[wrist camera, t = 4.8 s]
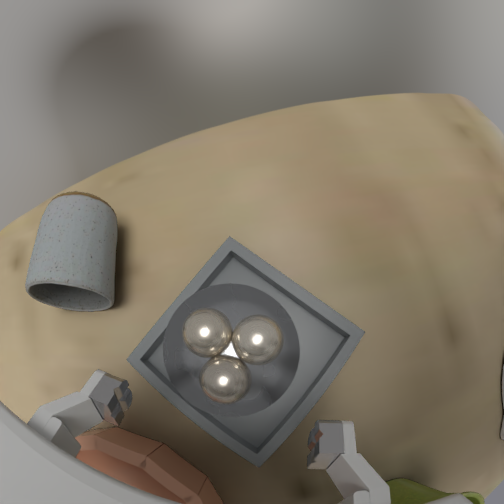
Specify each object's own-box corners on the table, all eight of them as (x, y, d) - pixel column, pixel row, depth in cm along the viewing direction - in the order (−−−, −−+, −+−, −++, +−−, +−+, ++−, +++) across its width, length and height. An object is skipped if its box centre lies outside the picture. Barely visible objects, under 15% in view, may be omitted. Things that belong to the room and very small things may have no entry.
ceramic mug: (132, 221, 23) (91, 171, 16) (131, 308, 20) (74, 282, 13) (52, 240, 23) (7, 206, 16) (45, 315, 20) (-11, 294, 13)
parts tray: (356, 334, 19) (365, 331, 17) (259, 458, 16) (259, 467, 14) (232, 246, 22) (229, 236, 20) (137, 360, 19) (126, 359, 17)
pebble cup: (297, 346, 18) (333, 333, 9) (251, 404, 17) (239, 449, 8) (237, 301, 20) (216, 248, 10) (191, 358, 18) (127, 354, 9)
